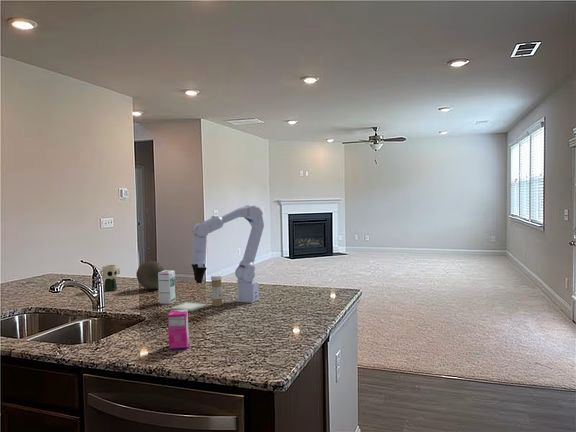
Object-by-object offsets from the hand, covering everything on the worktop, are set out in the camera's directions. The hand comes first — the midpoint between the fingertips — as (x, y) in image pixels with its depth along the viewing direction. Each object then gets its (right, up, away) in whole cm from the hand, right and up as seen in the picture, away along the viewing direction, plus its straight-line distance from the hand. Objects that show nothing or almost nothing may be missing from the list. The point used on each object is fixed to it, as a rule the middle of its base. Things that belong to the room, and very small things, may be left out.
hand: (198, 281), depth 197 cm
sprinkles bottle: (+8, -11, +2) cm, 14 cm away
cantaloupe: (-32, -10, +39) cm, 52 cm away
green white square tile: (-4, -11, 0) cm, 12 cm away
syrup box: (-16, -11, +10) cm, 22 cm away
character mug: (-54, -11, +39) cm, 67 cm away
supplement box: (+4, -14, -52) cm, 54 cm away
